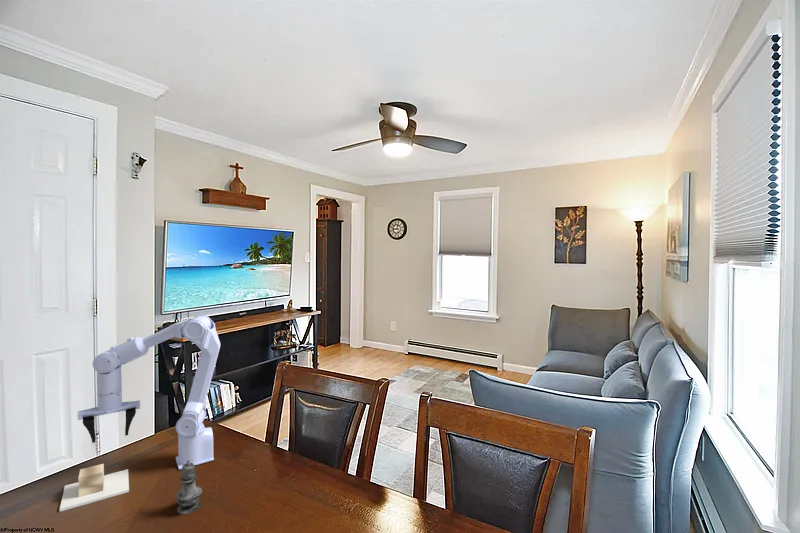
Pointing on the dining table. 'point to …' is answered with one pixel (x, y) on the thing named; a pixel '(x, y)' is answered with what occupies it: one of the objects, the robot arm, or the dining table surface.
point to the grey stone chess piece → (188, 490)
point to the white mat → (112, 487)
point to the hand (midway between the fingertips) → (110, 437)
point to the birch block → (91, 480)
